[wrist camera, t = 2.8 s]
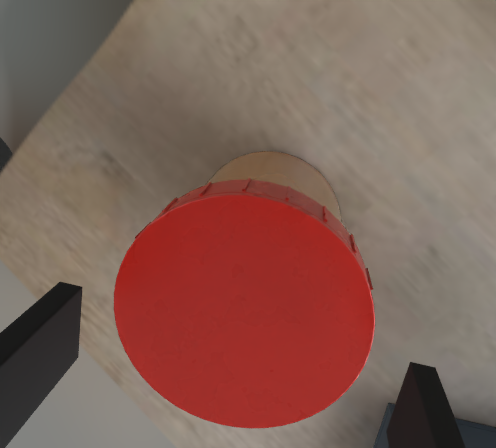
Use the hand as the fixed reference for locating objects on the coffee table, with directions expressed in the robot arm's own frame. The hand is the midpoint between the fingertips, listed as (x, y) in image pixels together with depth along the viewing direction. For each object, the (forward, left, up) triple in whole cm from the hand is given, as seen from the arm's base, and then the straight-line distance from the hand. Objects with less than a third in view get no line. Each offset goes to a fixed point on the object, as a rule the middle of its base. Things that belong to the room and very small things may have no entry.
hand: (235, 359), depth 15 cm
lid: (0, 0, -3) cm, 3 cm away
